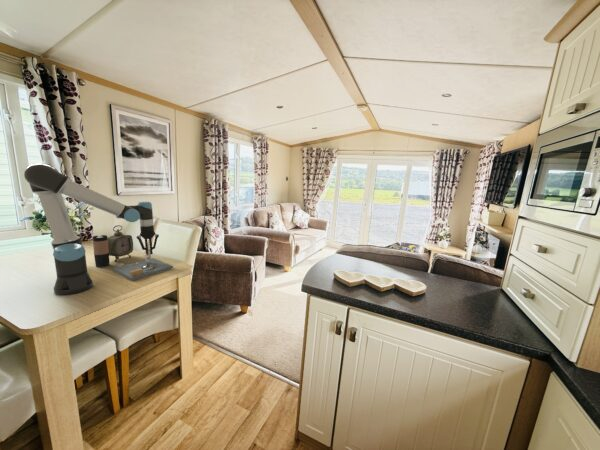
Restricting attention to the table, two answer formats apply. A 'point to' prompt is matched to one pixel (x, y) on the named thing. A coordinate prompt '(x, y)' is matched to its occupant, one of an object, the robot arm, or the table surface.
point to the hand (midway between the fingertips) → (149, 259)
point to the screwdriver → (138, 271)
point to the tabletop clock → (120, 244)
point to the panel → (157, 268)
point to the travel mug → (101, 251)
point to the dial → (147, 263)
